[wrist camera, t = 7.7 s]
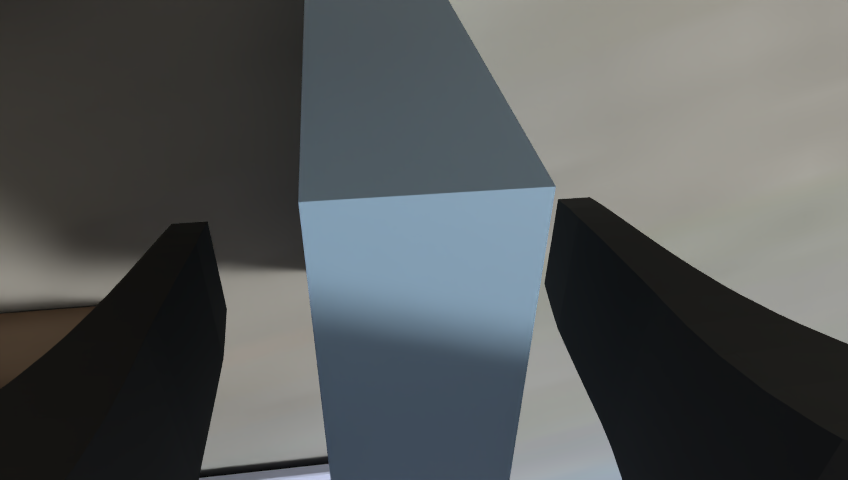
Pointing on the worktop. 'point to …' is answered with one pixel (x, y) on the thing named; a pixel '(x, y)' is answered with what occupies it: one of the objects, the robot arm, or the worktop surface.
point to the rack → (33, 336)
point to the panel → (416, 242)
